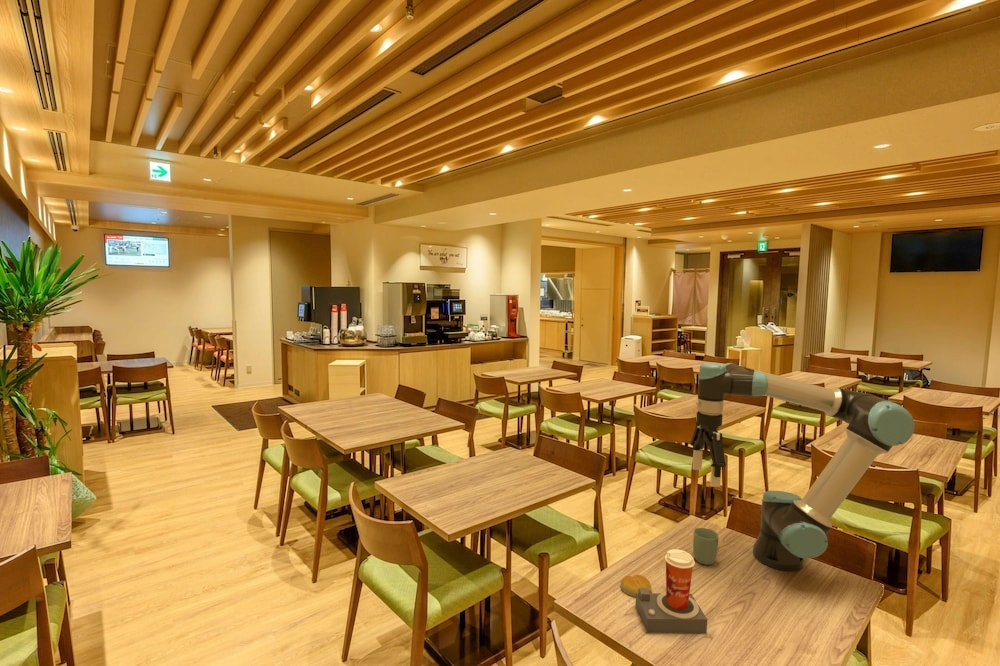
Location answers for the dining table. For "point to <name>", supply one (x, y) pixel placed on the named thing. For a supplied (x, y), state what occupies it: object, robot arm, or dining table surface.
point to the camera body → (668, 614)
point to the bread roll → (635, 584)
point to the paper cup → (678, 578)
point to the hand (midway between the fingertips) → (705, 477)
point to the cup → (705, 545)
